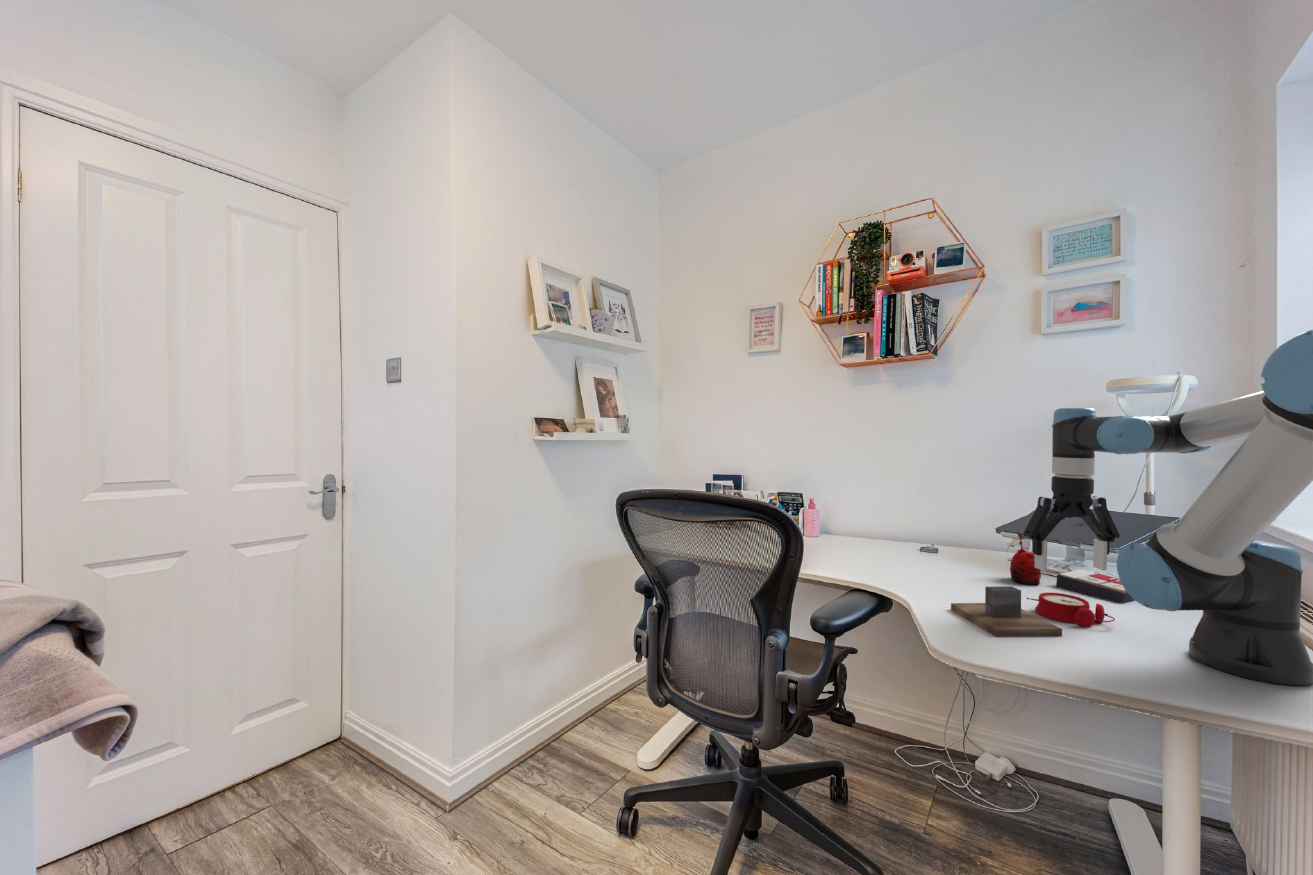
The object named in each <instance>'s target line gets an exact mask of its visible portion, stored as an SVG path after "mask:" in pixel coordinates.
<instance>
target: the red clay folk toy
mask: <svg viewBox="0 0 1313 875" xmlns="http://www.w3.org/2000/svg"><path fill="white" fill-rule="evenodd" d="M1016 531H1017V532H1018V533H1017V534H1016V536H1019V537H1018V538H1019V543H1018V544H1019V545H1020V549H1017V551H1016V552H1015V553H1014V554H1013V556H1012V558H1011V561H1010V565H1009V572H1010V578H1011V580H1012V581H1014V582H1015V583H1019V584H1022V585H1023V584H1024V585H1031V586H1033V585H1037V586H1038V585H1040V584H1041V581H1040V580H1041V579H1042V578H1041V577H1042V574H1041V573H1042V572H1041V571H1042V570H1040V569H1038V568H1035V554H1033V552H1032V551H1031V552H1029V551H1027V550H1025V549H1024V547H1023V541H1022V539H1024V540H1026V538H1027V537H1025V536H1024V535H1023V534H1022V531H1019V529H1016Z"/></svg>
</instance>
